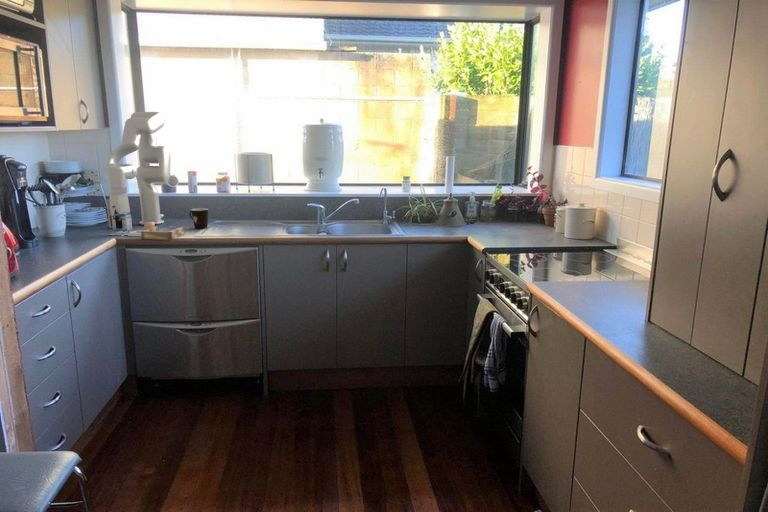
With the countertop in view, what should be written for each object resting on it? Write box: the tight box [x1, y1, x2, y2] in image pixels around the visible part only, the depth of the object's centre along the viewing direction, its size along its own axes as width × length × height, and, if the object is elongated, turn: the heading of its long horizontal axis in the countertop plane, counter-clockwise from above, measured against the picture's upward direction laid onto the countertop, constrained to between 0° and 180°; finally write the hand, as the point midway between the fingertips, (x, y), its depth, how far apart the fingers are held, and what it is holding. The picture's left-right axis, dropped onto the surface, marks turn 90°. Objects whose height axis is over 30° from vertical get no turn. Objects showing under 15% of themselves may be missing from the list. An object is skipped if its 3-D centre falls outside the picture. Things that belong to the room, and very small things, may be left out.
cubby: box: [140, 226, 185, 241], centre depth 274 cm, size 14×15×4 cm
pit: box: [128, 229, 143, 237], centre depth 277 cm, size 7×7×2 cm
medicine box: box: [112, 212, 133, 232], centre depth 279 cm, size 8×4×9 cm, turn 81°
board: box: [109, 231, 129, 237], centre depth 280 cm, size 10×9×1 cm
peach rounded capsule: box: [143, 222, 156, 230], centre depth 285 cm, size 5×5×5 cm
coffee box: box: [104, 196, 113, 229], centre depth 297 cm, size 9×6×16 cm
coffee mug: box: [188, 207, 209, 230], centre depth 296 cm, size 12×9×10 cm
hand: (122, 226), depth 280 cm, fingers closed on medicine box, 4 cm apart
